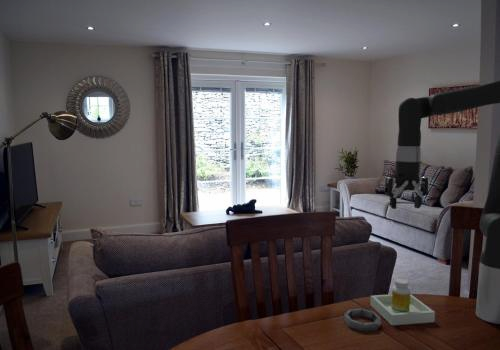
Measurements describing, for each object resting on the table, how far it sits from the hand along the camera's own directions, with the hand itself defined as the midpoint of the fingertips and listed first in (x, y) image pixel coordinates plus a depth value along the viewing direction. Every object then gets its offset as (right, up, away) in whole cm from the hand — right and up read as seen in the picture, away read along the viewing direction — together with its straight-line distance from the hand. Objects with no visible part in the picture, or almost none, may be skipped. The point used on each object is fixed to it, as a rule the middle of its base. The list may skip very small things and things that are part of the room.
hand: (405, 208), depth 133 cm
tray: (-4, -33, -6) cm, 34 cm away
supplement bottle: (-4, -32, -6) cm, 33 cm away
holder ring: (-18, -34, -12) cm, 40 cm away
